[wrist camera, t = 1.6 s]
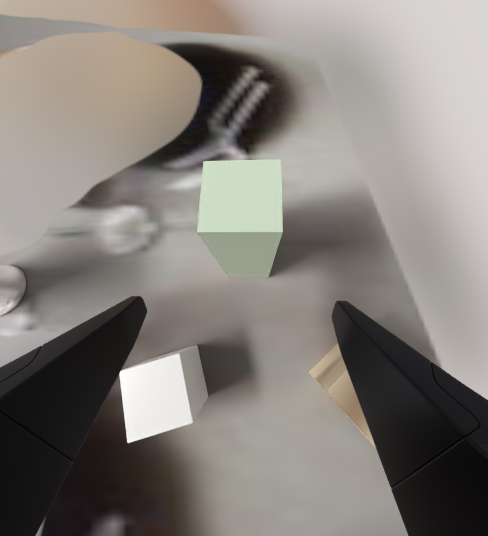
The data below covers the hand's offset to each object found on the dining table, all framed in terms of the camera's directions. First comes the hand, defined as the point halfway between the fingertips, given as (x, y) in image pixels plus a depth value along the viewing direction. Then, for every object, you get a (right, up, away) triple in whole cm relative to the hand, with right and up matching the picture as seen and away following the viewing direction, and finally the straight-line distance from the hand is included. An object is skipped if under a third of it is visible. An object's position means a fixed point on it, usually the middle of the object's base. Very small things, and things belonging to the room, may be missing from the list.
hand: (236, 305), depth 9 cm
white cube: (-6, -9, +11) cm, 16 cm away
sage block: (+1, +3, +13) cm, 14 cm away
